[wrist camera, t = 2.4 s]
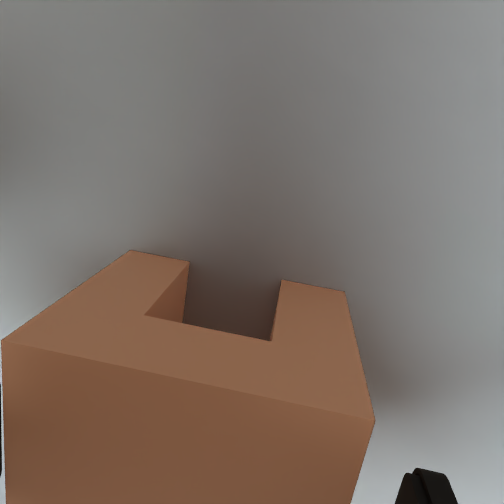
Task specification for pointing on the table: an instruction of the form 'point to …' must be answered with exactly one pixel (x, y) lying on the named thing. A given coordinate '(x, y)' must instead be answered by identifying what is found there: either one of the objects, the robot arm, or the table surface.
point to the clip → (181, 398)
